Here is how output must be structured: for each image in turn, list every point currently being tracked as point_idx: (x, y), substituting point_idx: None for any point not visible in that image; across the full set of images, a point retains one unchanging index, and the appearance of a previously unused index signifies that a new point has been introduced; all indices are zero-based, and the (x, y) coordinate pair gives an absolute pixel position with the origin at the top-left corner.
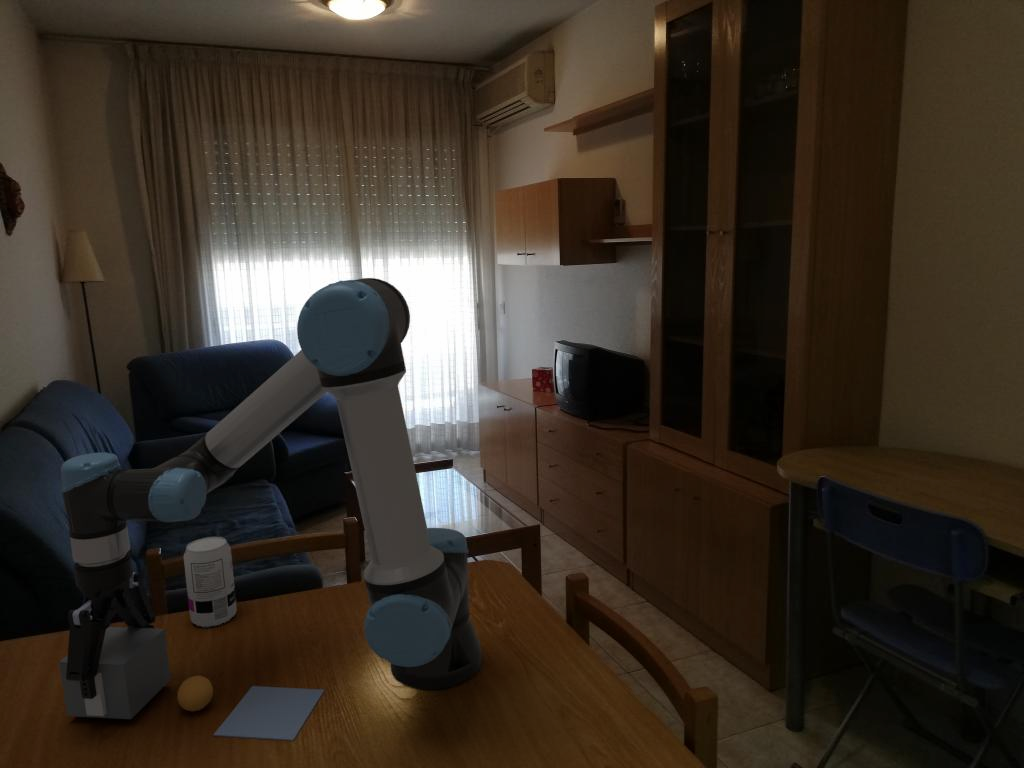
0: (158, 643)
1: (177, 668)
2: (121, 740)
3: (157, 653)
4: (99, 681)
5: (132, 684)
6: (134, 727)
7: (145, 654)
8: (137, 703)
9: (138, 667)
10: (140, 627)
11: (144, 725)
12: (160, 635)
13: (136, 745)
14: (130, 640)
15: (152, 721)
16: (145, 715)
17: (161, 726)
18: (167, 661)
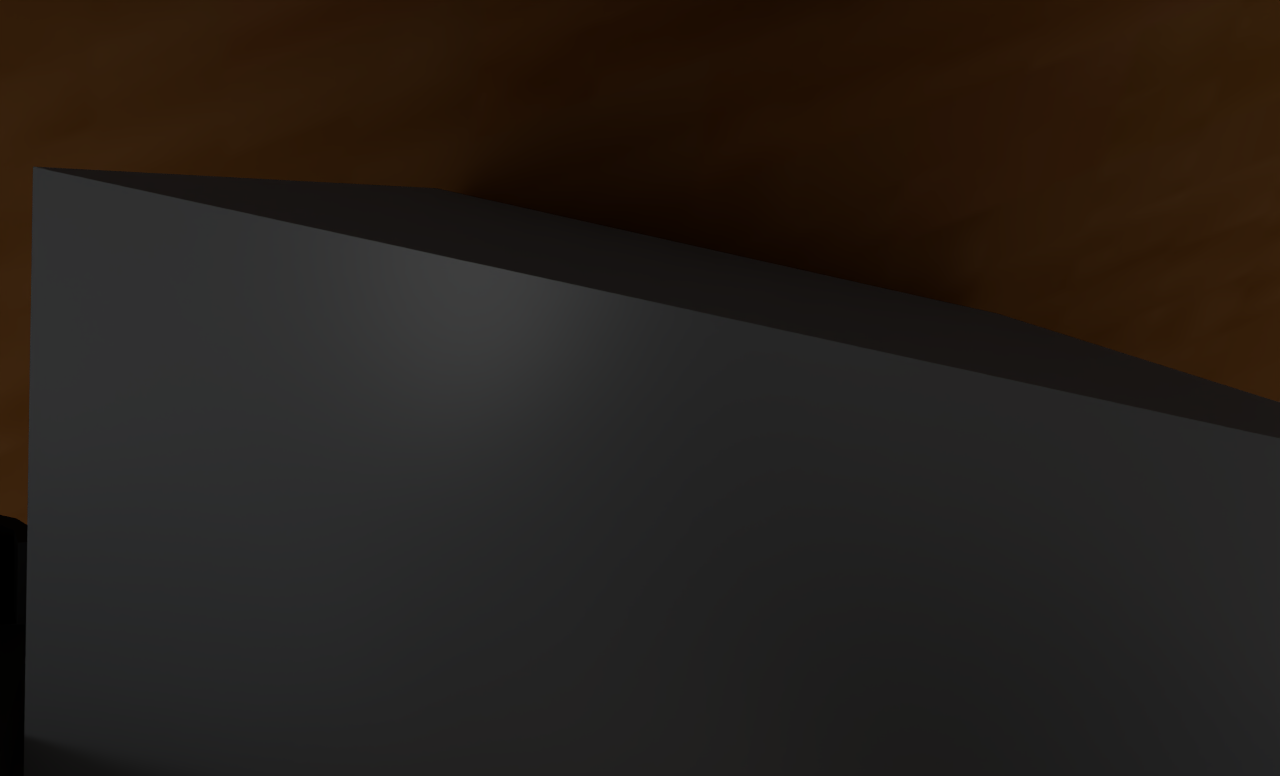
0: (429, 231)
1: None
2: (1117, 316)
3: (526, 236)
4: None
5: (1089, 352)
6: (978, 282)
7: (852, 322)
8: (932, 302)
9: (1021, 348)
10: (3, 772)
11: (970, 214)
12: (281, 211)
13: (1213, 179)
14: (573, 761)
15: (931, 169)
16: (838, 256)
17: (1016, 66)
18: (389, 189)
